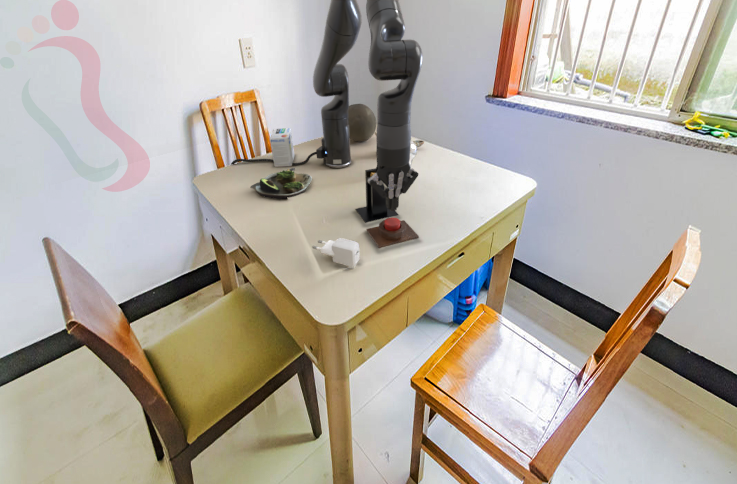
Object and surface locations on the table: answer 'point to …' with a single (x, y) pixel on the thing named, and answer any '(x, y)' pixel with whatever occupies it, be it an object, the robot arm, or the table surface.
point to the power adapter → (341, 251)
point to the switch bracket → (374, 202)
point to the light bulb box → (282, 147)
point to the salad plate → (283, 184)
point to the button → (392, 224)
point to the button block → (391, 234)
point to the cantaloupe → (361, 122)
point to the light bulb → (412, 152)
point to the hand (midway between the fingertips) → (392, 209)
